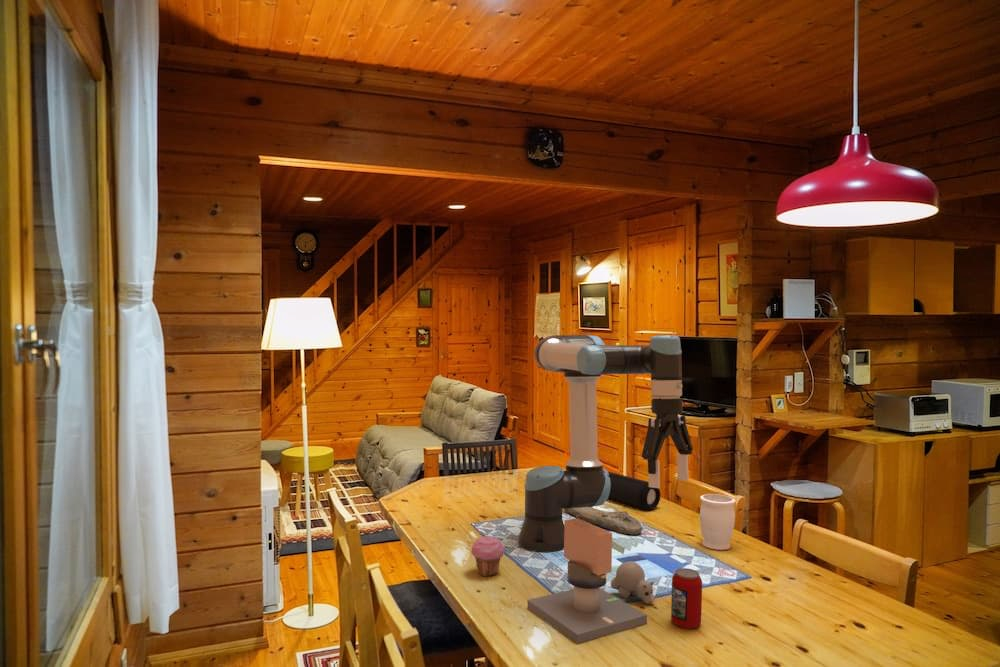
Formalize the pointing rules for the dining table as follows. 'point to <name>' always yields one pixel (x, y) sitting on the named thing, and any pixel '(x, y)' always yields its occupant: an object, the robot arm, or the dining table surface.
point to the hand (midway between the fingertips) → (669, 484)
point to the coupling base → (586, 613)
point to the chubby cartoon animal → (633, 582)
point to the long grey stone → (608, 519)
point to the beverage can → (686, 598)
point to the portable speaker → (633, 491)
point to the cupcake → (487, 554)
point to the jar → (717, 520)
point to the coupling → (587, 553)
